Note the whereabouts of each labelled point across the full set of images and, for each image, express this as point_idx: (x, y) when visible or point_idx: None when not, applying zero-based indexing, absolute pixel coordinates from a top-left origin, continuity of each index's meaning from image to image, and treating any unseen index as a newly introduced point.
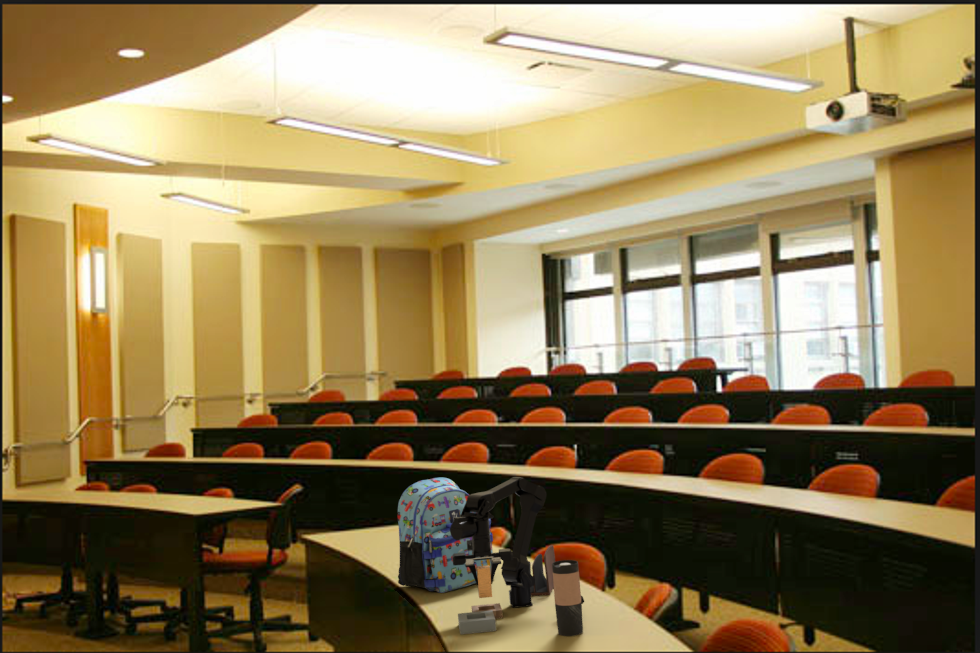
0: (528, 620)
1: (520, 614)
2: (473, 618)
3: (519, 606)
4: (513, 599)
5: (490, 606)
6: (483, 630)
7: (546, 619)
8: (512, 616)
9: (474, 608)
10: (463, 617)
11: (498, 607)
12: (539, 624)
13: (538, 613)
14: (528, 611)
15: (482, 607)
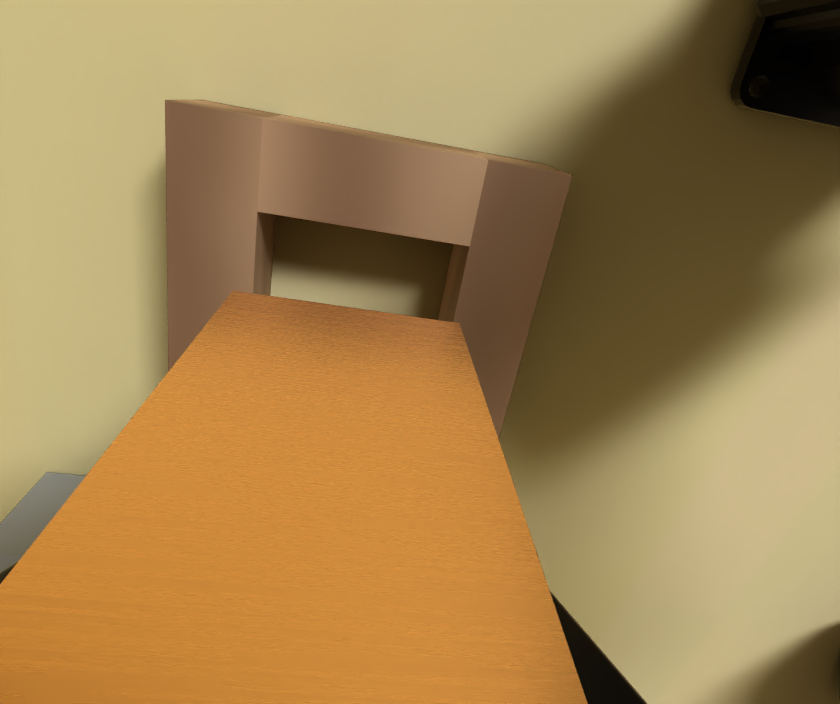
0: (622, 576)
1: (657, 396)
2: None
3: (802, 118)
4: (831, 34)
5: (423, 238)
6: None
7: (737, 603)
8: (568, 424)
9: (199, 276)
10: None
11: (485, 378)
12: (636, 676)
13: (793, 439)
14: (769, 334)
15: (318, 219)
